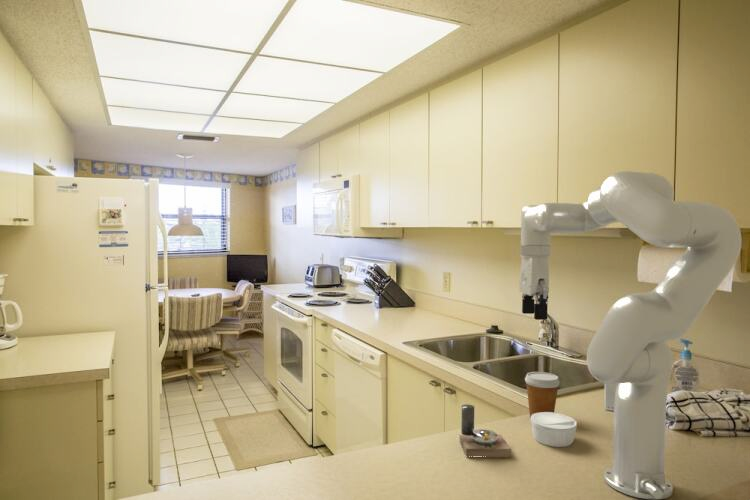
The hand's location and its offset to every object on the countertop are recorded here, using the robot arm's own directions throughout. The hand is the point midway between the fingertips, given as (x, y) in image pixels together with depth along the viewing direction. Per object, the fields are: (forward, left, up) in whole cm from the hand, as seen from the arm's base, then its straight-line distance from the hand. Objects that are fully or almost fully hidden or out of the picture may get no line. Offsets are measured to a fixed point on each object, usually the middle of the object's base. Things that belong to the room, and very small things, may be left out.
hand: (534, 316), depth 133 cm
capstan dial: (-13, +17, -28) cm, 35 cm away
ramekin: (-7, -3, -31) cm, 32 cm away
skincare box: (+17, -31, -31) cm, 47 cm away
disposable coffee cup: (+8, -6, -31) cm, 32 cm away
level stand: (-13, +16, -30) cm, 37 cm away
